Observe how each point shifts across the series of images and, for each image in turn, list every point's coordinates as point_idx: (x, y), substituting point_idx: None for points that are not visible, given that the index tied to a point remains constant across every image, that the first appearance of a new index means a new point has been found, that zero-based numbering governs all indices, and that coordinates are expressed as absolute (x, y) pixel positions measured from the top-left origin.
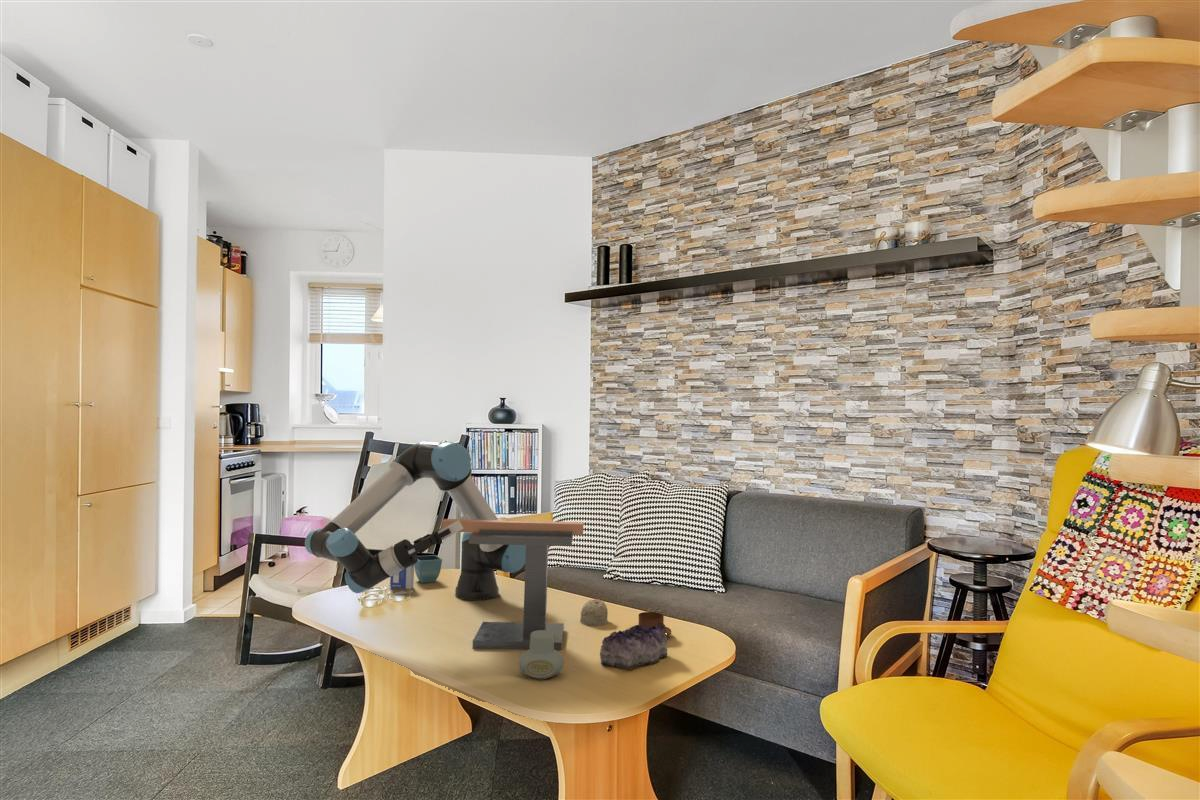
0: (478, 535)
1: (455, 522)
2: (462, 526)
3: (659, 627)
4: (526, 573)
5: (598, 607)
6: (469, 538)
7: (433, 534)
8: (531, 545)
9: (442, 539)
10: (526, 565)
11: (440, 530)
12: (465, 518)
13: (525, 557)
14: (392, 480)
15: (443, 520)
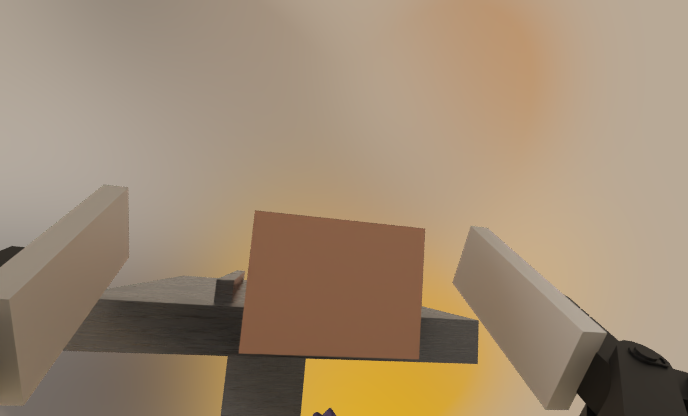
0: (422, 312)
1: (499, 242)
2: (457, 269)
3: (332, 413)
4: None
5: None
6: (476, 331)
7: (647, 375)
8: None
9: (565, 399)
10: (300, 403)
11: (581, 315)
12: (116, 226)
13: (303, 374)
14: None
15: (384, 225)
